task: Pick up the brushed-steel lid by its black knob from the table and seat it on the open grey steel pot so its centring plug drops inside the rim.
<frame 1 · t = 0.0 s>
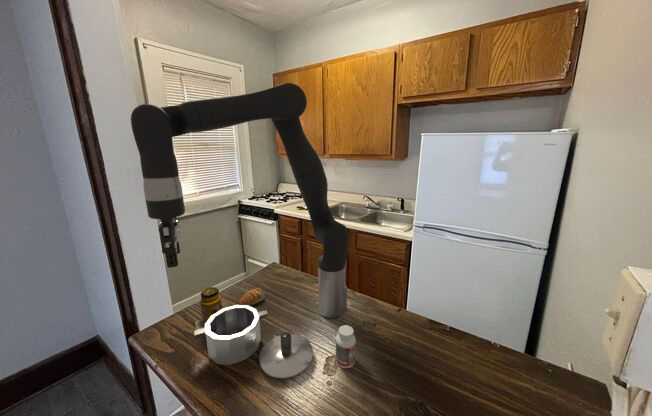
hand: (174, 259, 63), 29 cm above the table, fingers open, 8 cm apart
condiment: (210, 324, 83), on the table
pill bottle: (345, 361, 68), on the table
pot: (235, 343, 74), on the table
lid: (286, 358, 69), on the table
pastry: (252, 301, 96), on the table
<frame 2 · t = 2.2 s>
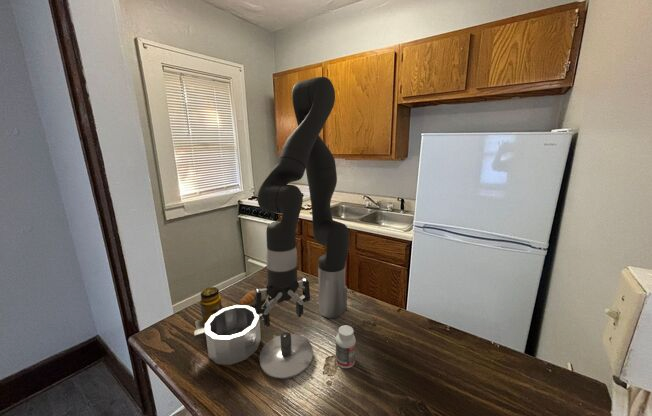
hand: (283, 320, 66), 12 cm above the table, fingers open, 8 cm apart
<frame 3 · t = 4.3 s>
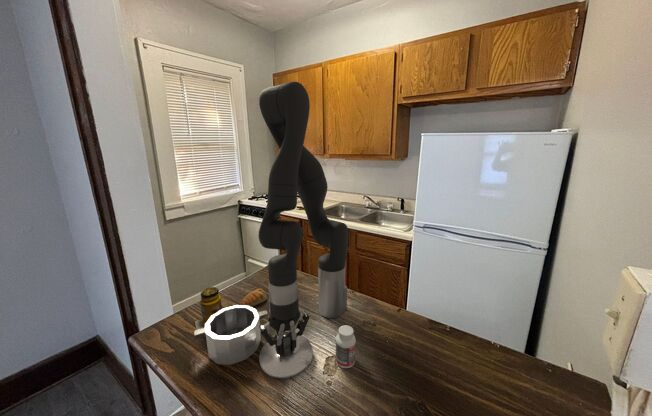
hand: (286, 351, 68), 2 cm above the table, fingers closed on lid, 3 cm apart
lid: (286, 358, 69), on the table, touching gripper
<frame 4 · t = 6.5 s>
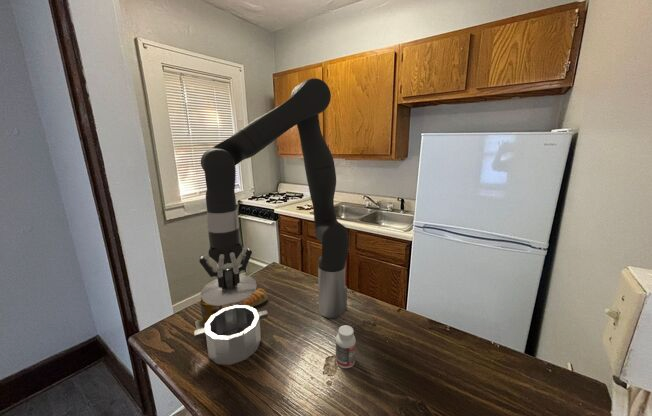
hand: (229, 285, 70), 19 cm above the table, fingers closed on lid, 3 cm apart
lid: (230, 293, 70), point 17 cm above the table, touching gripper
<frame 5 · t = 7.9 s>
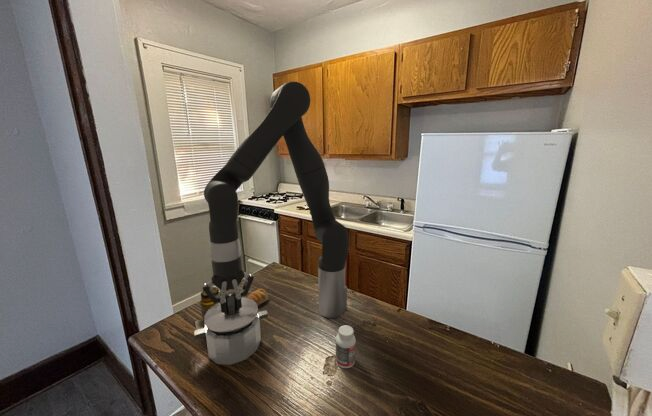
hand: (231, 310, 72), 11 cm above the table, fingers closed on lid, 3 cm apart
lid: (232, 317, 72), point 9 cm above the table, touching gripper
when the fingers open (10 cm above the table, at t = 8.9 s): lid stays where it is, resting on pot.
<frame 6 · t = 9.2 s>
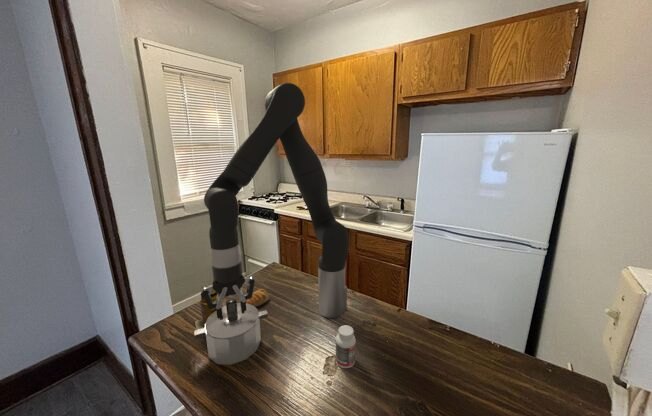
hand: (232, 314, 72), 10 cm above the table, fingers open, 5 cm apart
lid: (233, 324, 73), point 7 cm above the table, touching pot
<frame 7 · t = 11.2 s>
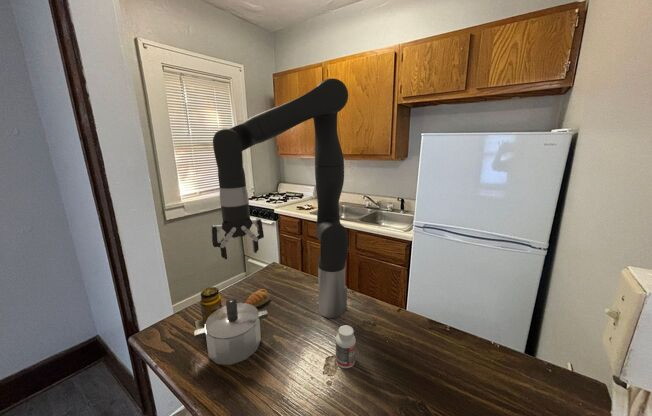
hand: (240, 255, 75), 25 cm above the table, fingers open, 8 cm apart
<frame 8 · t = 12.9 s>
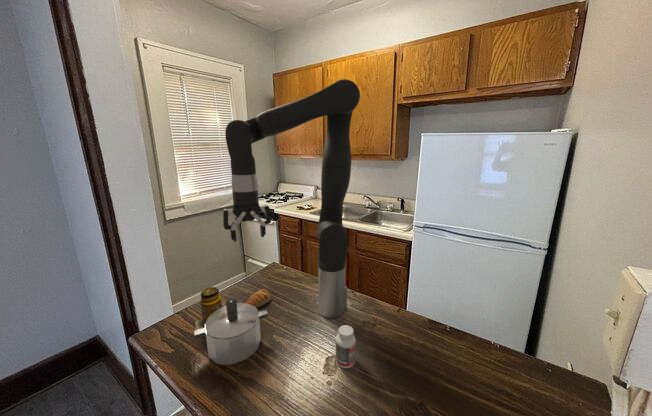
hand: (248, 238, 81), 28 cm above the table, fingers open, 8 cm apart
at the end: lid 0.1 cm off-centre on the pot, point 6.8 cm above the pot's base; lid tilted 0°; the gripper is holding nothing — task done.
